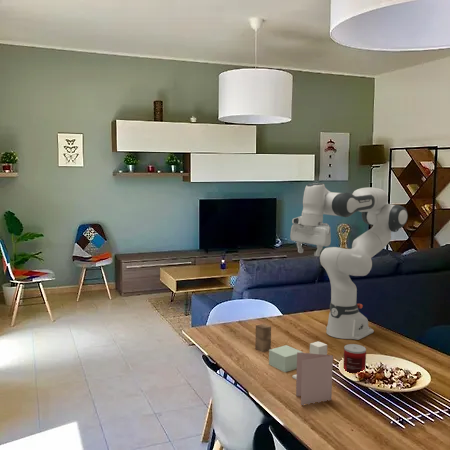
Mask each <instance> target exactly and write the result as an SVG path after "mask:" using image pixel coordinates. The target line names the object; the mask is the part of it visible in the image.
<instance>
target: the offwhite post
mask: <svg viewBox="0 0 450 450" xmlns="http://www.w3.org/2000/svg"><path fill="white" fill-rule="evenodd" d="M309 353H311V354H322V355H328V344H326V343H324V342H321V341H315V342H311V343H309Z"/></svg>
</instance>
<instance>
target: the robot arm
mask: <svg viewBox="0 0 450 450" xmlns="http://www.w3.org/2000/svg"><path fill="white" fill-rule="evenodd" d="M388 200H389V196H388V193H387V192H386V191H385V190H384V189H382V188H378V187H373V186H372V187H360V188H358V189H355V190H354V191H353V192H352V193H351V192H333V191H330V190H329V189H328V188H326V186H325V184H324V183H323V182H310V183H307V184H306V186H305V188H304V191H303V197H302V206H303V207H302V211H301V215H300V216H297V217H294V218H292V221H291V223H292V225H291V228H290V235H289V238H290V240H291V241H292V242H296V247H297V252H298V253H299V254H303V253H304V248H303V246H302V245H303V243H304V244H307V245H314V246H316V248H317V249H316V251H313V253H314V254H313V255H314V257H319V262H320V265H321V266H322V267H323V268H324V269H325V271H326V274H327V276H328V278H329V282H330V289H331V290H330V298H331V299H330V303H329V314H328V320H327V326H326V328H325V329H326V332H325V333H326V334H327V335H328V336H330V337H332V338H337V339H345V340H361V339H363V338H366V337H367V336H369V335H371V334H373V333H374V332H375V331H374V329H373V328H371V327H369V320H368V318H367V317H366V316H365V315H364V314H363V313H361V312H360V311H359V309H362V308H363V304H362V303H357V294H358V292H357V291H358V289H357V286H356V284H355V283H354V282H353V281H352V279H351V277H350V276H354V277H364V276H367V275H368V274H369V273H370V271H371V270H372V268H373V260H372V258H373V257H374V256H375V255H377V254H379V253H380V252H381V251H382V250H383V249H385V247H386V246H387V245H388V244H389V243H390V241H391V239H392V233H397V232H398V231H399V230H400V229H402V228H403V227H404V226H405V224H407V221H408V218H409V213H408V211H407V208H406V207H404V206H402V205H400V204H391V203H388ZM357 212H360V213H361V219H362V221H363V222H364V223H365V224H367V225H369V226H372V227H371V228H370V229H368V230H366V231H365V232H363V233H362V234H360V235H358V236H357V237H356V238H355V239H353V241H352V244H351V248H343V247H338V246H330V245H331V243H332V242H331V240H332V239H331V238H332V236H331V226H330V225H329V223H327V222H325V223H324V221H323V220H324V215H328V216H336V217H341V218H349V217H351V216H352V215H353V214H355V213H357ZM323 247H325V248H323Z"/></svg>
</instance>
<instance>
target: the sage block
mask: <svg viewBox="0 0 450 450" xmlns="http://www.w3.org/2000/svg"><path fill="white" fill-rule="evenodd" d="M297 352H299V353H304V352H303V351H301V350H299V349H298V348H297V349H296V348H294V347H292V346H289V345H287V344H285V345H281V346H278V347H275V348H274V347H273V348H271V350H268V365H270V366H271V367H273V368H276V369H277V370H279V371H281V372H283V373H287V372H290V371H293V370H297Z"/></svg>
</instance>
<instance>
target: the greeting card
mask: <svg viewBox="0 0 450 450" xmlns="http://www.w3.org/2000/svg"><path fill="white" fill-rule="evenodd" d="M333 356H334V355H331V354H327V355H322V354H311V353H310V352H303V353H299V352H297V369H296V374H297V378H296V379H295V380H296V385H295V386H296V387H295V397H300V396H301V397H300V406H301V405H303V406H305V405H304V404H308V405H311V404H310V403H313V404H316V403H315V402H318V403H322V402H321V401H323V402H328V401H332V391H333V367H334V366H333V363H334V359H333V358H334V357H333ZM327 400H328V401H327Z"/></svg>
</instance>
